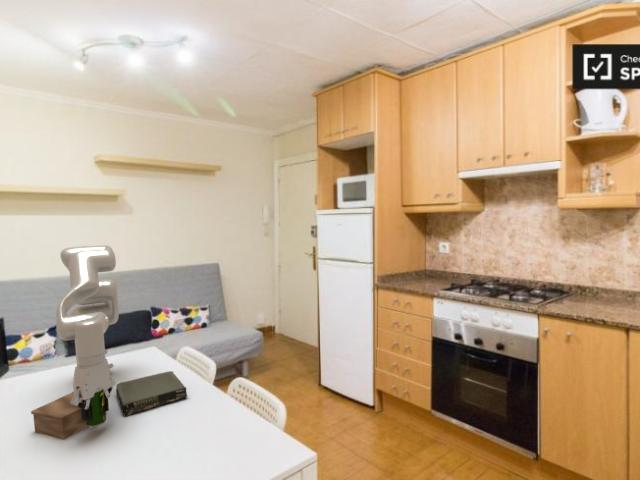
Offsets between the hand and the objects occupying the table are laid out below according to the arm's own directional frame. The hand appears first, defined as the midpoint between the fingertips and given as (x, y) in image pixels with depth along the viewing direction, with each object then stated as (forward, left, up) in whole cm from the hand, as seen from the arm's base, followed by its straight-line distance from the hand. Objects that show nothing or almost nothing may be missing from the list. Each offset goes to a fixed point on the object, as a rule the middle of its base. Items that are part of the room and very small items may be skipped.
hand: (95, 414), depth 124 cm
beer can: (0, 0, -3) cm, 3 cm away
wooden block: (-2, -13, -6) cm, 15 cm away
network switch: (-25, -2, -7) cm, 26 cm away
